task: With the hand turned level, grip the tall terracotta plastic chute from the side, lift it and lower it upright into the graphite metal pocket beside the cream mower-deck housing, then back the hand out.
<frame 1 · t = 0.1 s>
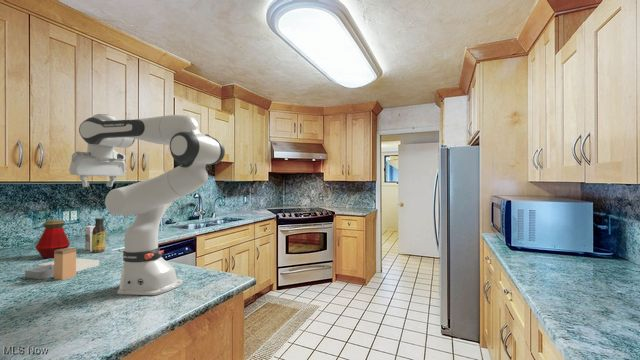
hand: (98, 186, 114), 39 cm above the counter, tool pointing down, fingers open, 8 cm apart
red faceted jar: (53, 256, 151), on the counter
sauce bottle: (98, 252, 161), on the counter
mower deck: (45, 274, 120), on the counter
syrup box: (92, 249, 168), on the counter
chute: (65, 277, 117), on the counter
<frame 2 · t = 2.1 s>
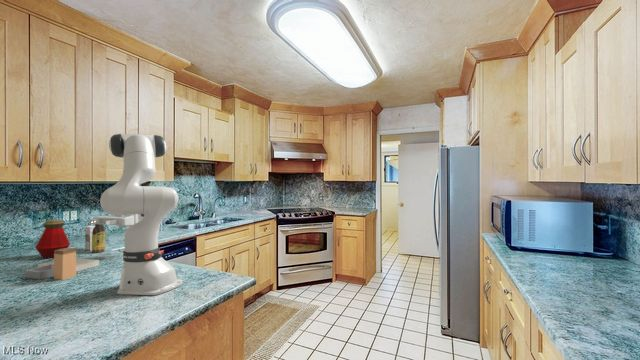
hand: (97, 222, 130), 22 cm above the counter, tool horizontal, fingers open, 8 cm apart
nothing on the counter moved.
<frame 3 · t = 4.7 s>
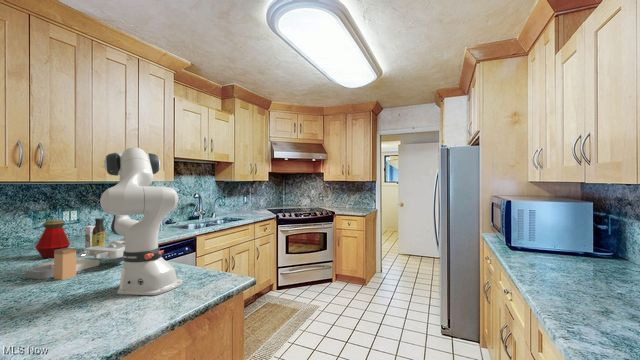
hand: (87, 255, 126), 7 cm above the counter, tool horizontal, fingers open, 8 cm apart
nothing on the counter moved.
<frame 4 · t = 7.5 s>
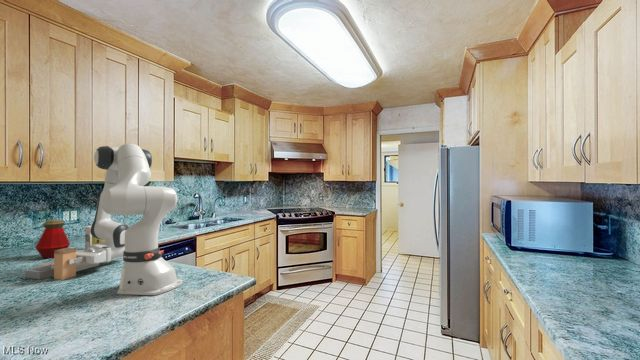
hand: (62, 261, 116), 7 cm above the counter, tool horizontal, fingers closed on chute, 5 cm apart
chute: (65, 277, 117), on the counter, touching gripper
everything else where it was.
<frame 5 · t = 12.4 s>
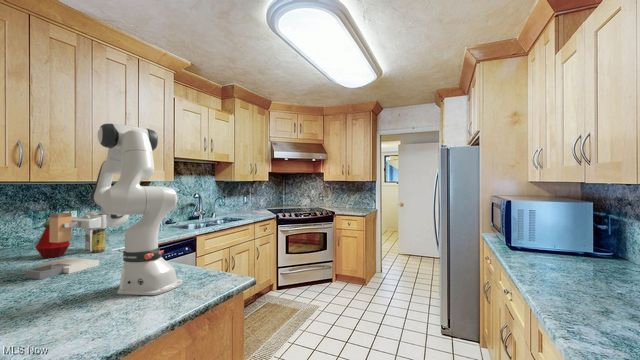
hand: (58, 225, 118), 22 cm above the counter, tool horizontal, fingers closed on chute, 5 cm apart
chute: (60, 241, 118), point 15 cm above the counter, touching gripper
everything else where it was.
when the fingers open (7 cm above the counter, at t = 17.3 s): chute stays where it is, resting in mower deck.
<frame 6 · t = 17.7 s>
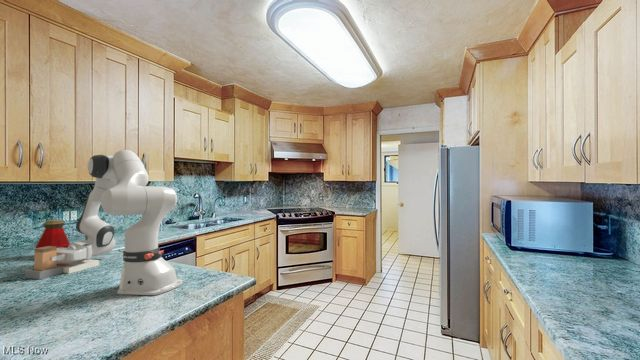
hand: (43, 258, 120), 7 cm above the counter, tool horizontal, fingers open, 8 cm apart
chute: (45, 275, 120), resting in mower deck
everything else where it was.
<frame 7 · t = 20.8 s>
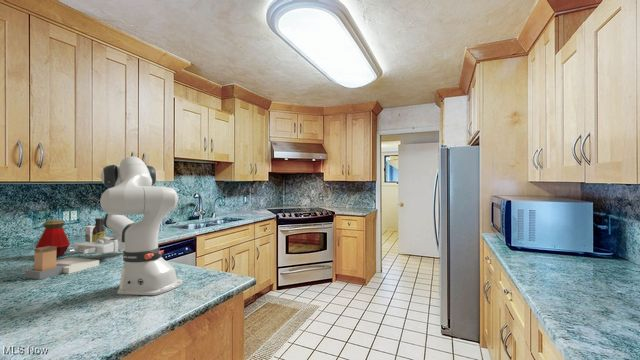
hand: (76, 251, 132), 8 cm above the counter, tool horizontal, fingers open, 8 cm apart
nothing on the counter moved.
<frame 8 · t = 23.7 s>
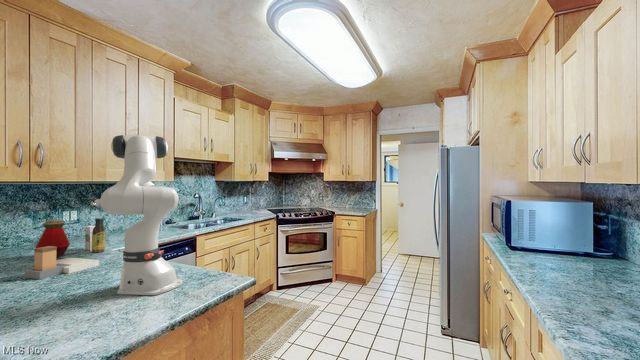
hand: (98, 204, 137), 30 cm above the counter, tool horizontal, fingers open, 8 cm apart
nothing on the counter moved.
at the end: chute 0.0 cm from the target spot, resting in mower deck; chute tilted 0°; the gripper is holding nothing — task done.
